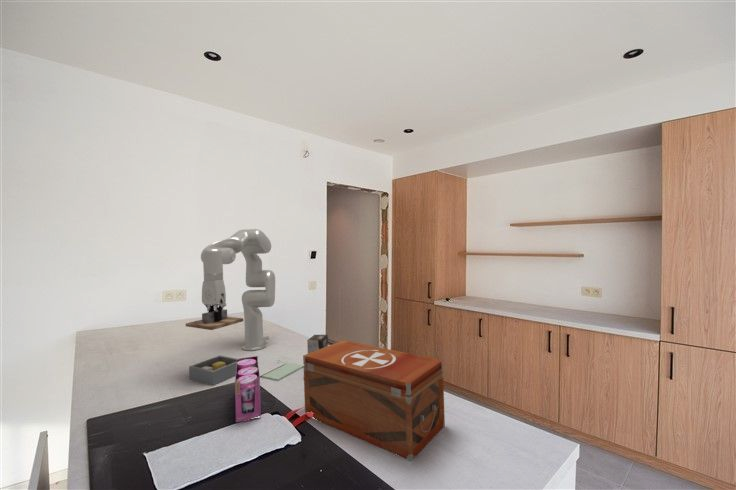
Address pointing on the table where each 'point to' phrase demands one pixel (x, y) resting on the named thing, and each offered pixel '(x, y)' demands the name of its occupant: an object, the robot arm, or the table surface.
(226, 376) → the storage box
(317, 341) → the coffee box
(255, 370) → the gum box
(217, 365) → the ochre block
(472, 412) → the table surface
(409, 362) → the wooden box
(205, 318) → the lid
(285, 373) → the sage mat
